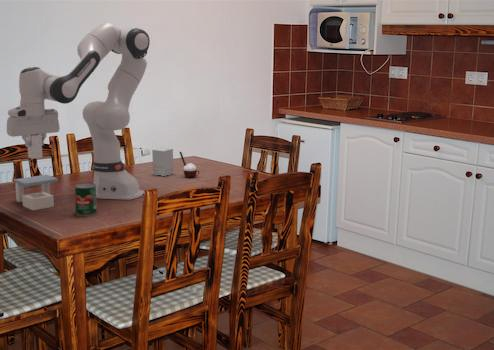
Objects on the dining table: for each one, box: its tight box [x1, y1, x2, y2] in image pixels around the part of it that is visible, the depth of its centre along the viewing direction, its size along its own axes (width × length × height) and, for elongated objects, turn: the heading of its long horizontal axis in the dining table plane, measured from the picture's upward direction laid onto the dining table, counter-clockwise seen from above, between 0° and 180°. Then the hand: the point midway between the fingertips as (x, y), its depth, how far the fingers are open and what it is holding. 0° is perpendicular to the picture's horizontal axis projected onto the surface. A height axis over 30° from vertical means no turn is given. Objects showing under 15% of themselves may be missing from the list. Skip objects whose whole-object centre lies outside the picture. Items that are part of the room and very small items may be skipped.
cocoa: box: [179, 151, 200, 178], centre depth 316 cm, size 10×6×12 cm, turn 57°
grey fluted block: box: [151, 147, 174, 177], centre depth 320 cm, size 7×7×13 cm
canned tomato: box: [74, 182, 98, 217], centre depth 252 cm, size 8×8×11 cm
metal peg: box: [26, 134, 43, 160], centre depth 257 cm, size 4×4×9 cm
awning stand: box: [13, 174, 59, 211], centre depth 266 cm, size 18×15×9 cm
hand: (34, 145), depth 257 cm, fingers closed on metal peg, 4 cm apart
